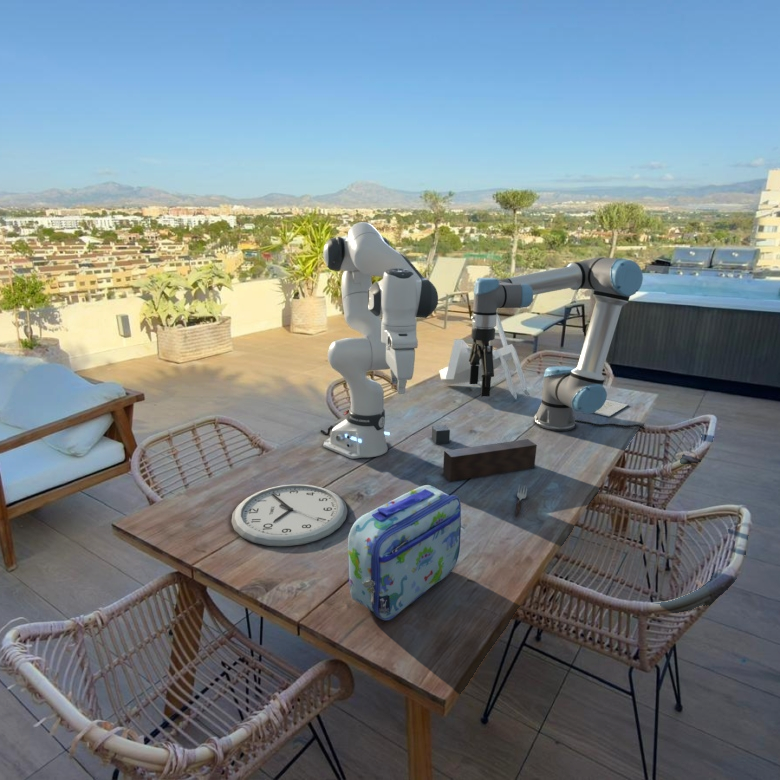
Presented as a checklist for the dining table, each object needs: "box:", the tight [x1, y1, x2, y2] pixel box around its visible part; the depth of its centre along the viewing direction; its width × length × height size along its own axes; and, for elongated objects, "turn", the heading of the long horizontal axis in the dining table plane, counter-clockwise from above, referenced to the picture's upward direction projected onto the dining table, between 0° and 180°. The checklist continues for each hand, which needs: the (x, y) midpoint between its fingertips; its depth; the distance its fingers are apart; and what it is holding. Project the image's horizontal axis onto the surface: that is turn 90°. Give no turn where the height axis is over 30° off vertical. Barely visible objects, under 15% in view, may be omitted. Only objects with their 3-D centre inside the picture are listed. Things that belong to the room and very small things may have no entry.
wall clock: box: [231, 483, 348, 547], centre depth 138 cm, size 30×2×30 cm
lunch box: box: [347, 484, 462, 621], centre depth 107 cm, size 26×11×21 cm, turn 134°
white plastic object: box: [438, 313, 531, 400], centre depth 245 cm, size 37×45×31 cm
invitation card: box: [593, 399, 629, 418], centre depth 226 cm, size 21×1×15 cm
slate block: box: [431, 424, 451, 445], centre depth 186 cm, size 5×5×5 cm
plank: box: [442, 439, 538, 482], centre depth 163 cm, size 30×5×8 cm, turn 110°
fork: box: [515, 484, 528, 518], centre depth 145 cm, size 3×16×2 cm, turn 160°
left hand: (397, 388), depth 135 cm, fingers open, 8 cm apart
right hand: (479, 389), depth 175 cm, fingers open, 13 cm apart
